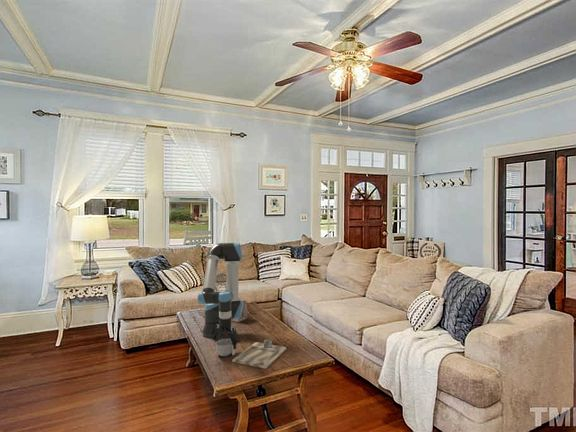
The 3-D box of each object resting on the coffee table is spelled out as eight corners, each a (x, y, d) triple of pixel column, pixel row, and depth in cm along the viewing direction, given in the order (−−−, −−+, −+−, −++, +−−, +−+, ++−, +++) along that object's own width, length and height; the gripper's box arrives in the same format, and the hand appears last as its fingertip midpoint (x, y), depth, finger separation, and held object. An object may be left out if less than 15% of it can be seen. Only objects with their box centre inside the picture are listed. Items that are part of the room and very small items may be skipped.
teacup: (218, 359, 196) (217, 346, 196) (213, 352, 205) (213, 339, 205) (240, 354, 202) (240, 341, 202) (235, 348, 212) (235, 335, 211)
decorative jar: (247, 318, 269) (247, 296, 269) (238, 322, 259) (237, 300, 259) (236, 316, 276) (236, 294, 275) (226, 320, 266) (226, 298, 265)
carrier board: (232, 361, 193) (232, 353, 193) (255, 343, 218) (255, 335, 218) (265, 368, 184) (265, 359, 184) (286, 349, 210) (286, 340, 209)
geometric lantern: (211, 313, 285) (211, 272, 285) (229, 311, 291) (229, 271, 291) (214, 318, 271) (214, 275, 271) (233, 316, 277) (233, 274, 277)
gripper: (206, 316, 205) (206, 352, 205) (238, 321, 196) (238, 358, 196) (213, 313, 212) (213, 347, 212) (244, 317, 202) (245, 353, 203)
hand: (225, 352), depth 204 cm, fingers closed on teacup, 11 cm apart
